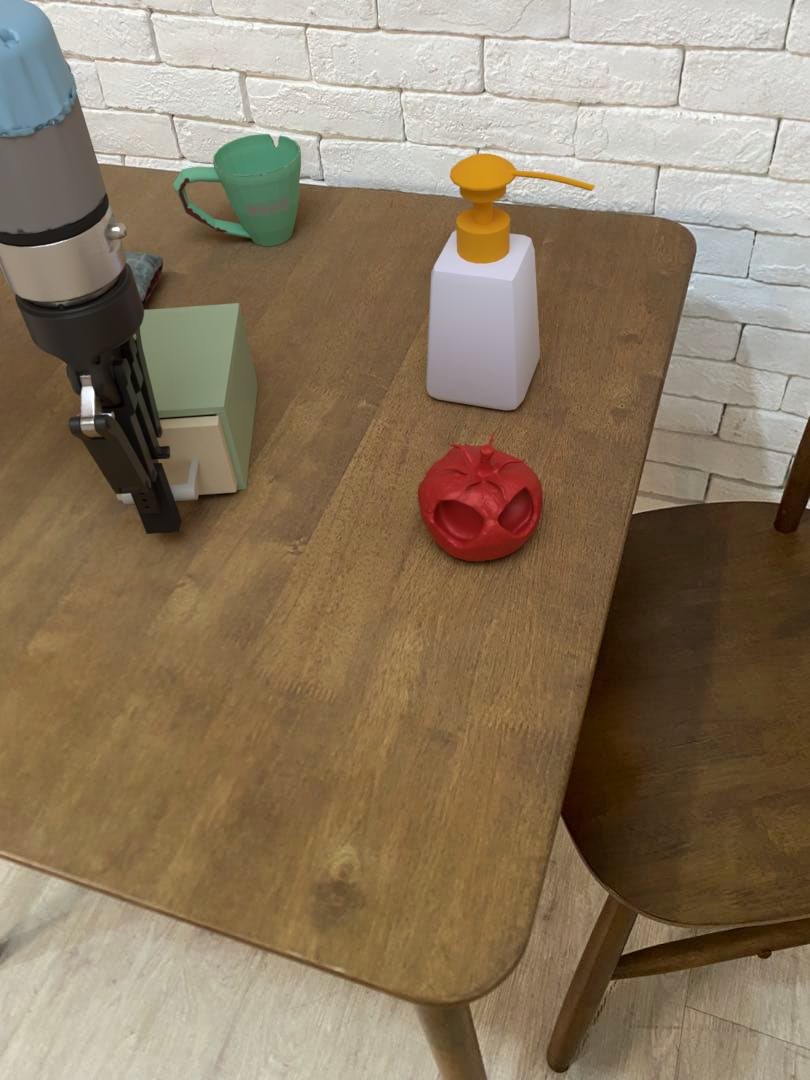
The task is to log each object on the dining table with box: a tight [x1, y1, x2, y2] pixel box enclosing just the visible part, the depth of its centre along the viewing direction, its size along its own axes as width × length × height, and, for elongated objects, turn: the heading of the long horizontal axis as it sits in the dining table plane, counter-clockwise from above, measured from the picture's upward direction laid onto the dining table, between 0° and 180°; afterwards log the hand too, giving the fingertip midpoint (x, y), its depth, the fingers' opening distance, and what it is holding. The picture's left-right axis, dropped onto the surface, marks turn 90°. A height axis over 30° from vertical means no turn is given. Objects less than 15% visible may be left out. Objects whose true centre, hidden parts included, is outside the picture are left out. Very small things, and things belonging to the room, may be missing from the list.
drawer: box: [115, 414, 238, 506], centre depth 82 cm, size 18×10×8 cm, turn 2°
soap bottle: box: [425, 153, 596, 411], centre depth 82 cm, size 10×14×22 cm
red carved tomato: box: [417, 430, 544, 562], centre depth 75 cm, size 10×10×9 cm
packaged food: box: [125, 251, 164, 310], centre depth 102 cm, size 9×12×5 cm
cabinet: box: [115, 302, 259, 498], centre depth 84 cm, size 15×12×10 cm
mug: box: [172, 133, 302, 247], centre depth 108 cm, size 15×10×10 cm
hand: (164, 526), depth 77 cm, fingers closed
